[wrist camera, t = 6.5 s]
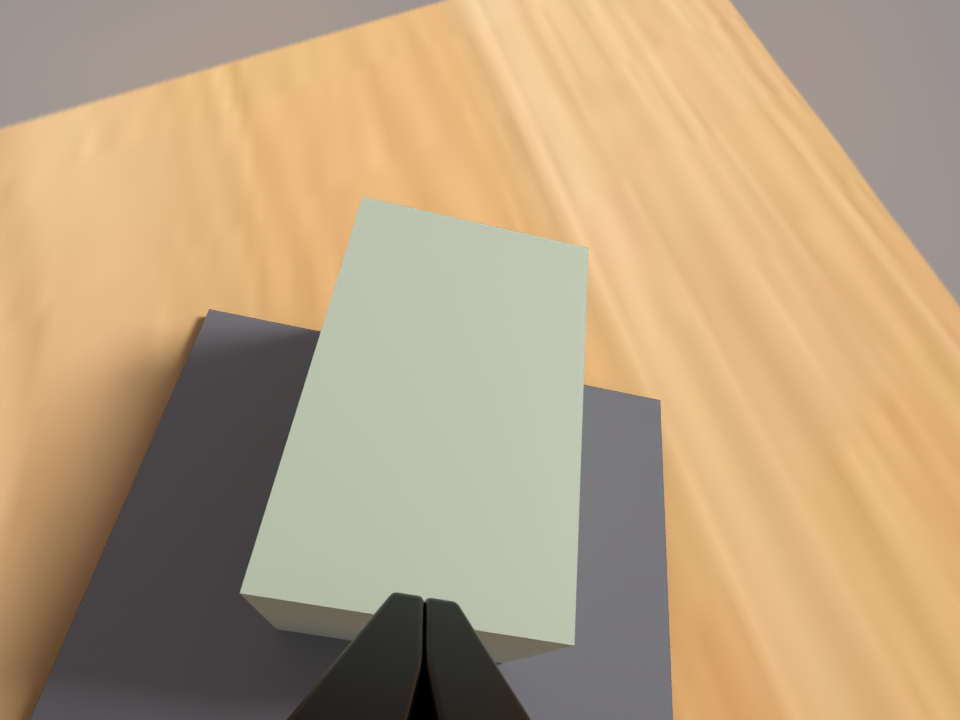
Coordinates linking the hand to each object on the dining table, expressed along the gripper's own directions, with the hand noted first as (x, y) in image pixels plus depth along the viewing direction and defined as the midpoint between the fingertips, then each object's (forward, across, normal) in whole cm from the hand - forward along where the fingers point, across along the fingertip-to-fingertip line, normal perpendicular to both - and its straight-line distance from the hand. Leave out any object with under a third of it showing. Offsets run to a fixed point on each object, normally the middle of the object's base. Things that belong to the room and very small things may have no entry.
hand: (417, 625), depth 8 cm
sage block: (+3, 0, +2) cm, 4 cm away
